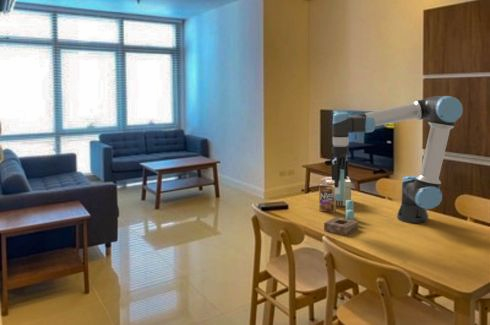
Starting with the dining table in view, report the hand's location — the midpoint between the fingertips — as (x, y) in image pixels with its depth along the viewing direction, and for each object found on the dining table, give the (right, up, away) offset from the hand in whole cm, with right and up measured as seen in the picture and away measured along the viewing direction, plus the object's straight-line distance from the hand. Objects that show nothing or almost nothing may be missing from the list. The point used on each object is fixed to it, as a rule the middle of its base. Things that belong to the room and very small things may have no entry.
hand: (339, 192), depth 204 cm
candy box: (+1, -13, +34) cm, 36 cm away
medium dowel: (+9, -15, +18) cm, 26 cm away
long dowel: (0, -4, +1) cm, 4 cm away
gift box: (+8, -10, +49) cm, 51 cm away
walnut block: (+1, -19, +2) cm, 19 cm away
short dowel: (+8, -17, +10) cm, 21 cm away
